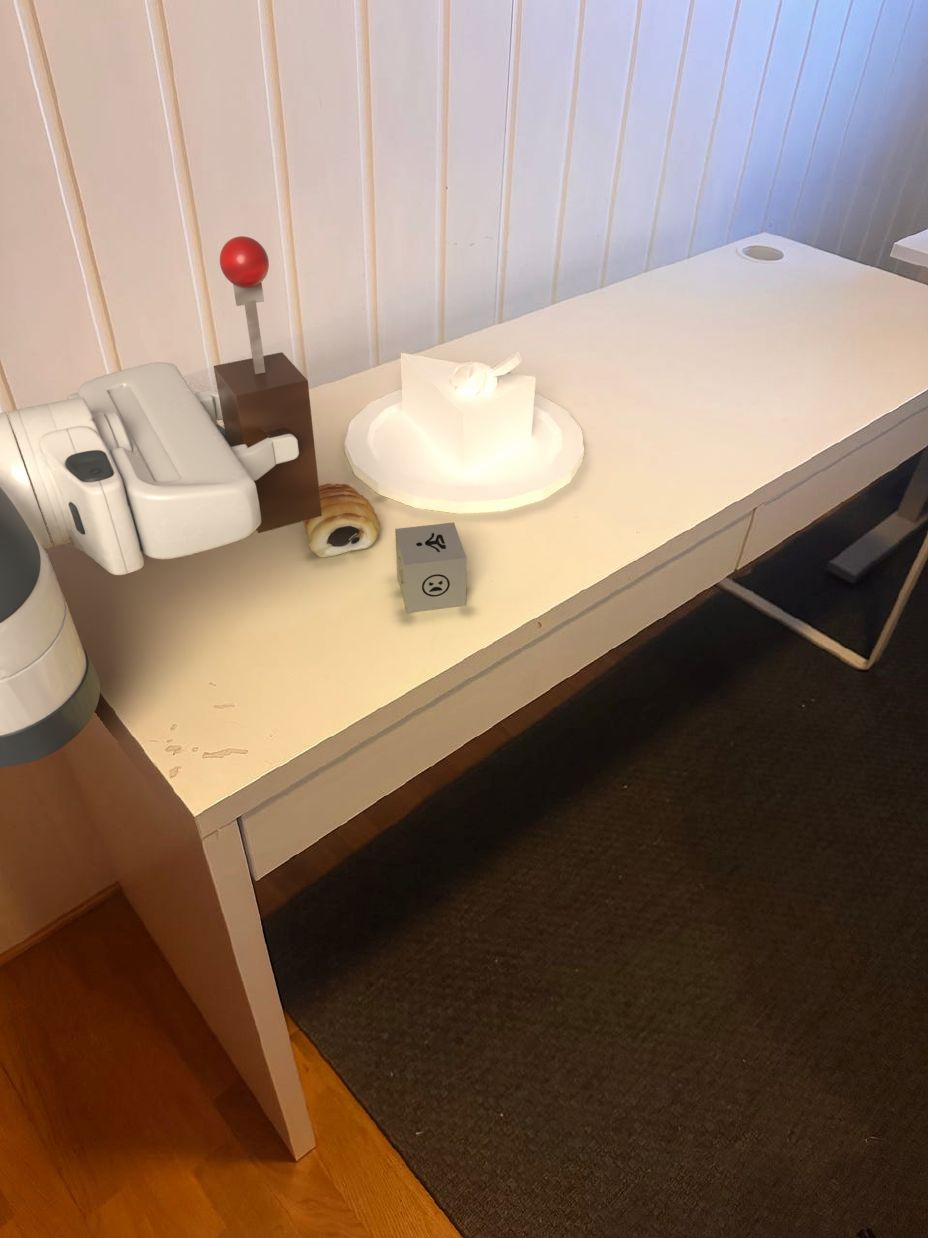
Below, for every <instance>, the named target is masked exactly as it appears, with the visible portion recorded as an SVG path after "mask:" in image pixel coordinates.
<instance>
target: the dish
mask: <svg viewBox="0 0 928 1238" xmlns="http://www.w3.org/2000/svg"><path fill="white" fill-rule="evenodd" d="M522 361H523V357H522V356H521V354H520V352H519V351H516V352H514V353H512V354H511V355H509V356H508V357H507V358H505V359H504V360H502V361H501V362H500V363H498V364H496V365H495V366H494V367H491V366H490V365H488V364H486V363H484V362H481V361H467V362H463V363H461V362H457V361H456V362H455V361H450V360H444V359H439V358H433V357H427V356H422V355H418V354H417V355H416V354H411V353H406V352H400V370H401V371H400V374H401V388H400V389H397V390H395V391H392V392H390V393H388V394H386V395H384V396H382V397H380V398H378V399H376V400H373V401H371V402H369V403H367V405H366V406H365V407H363V408H362V410H360V411H359V412H358V413H357V414H356V415H355V416H354V417H353V418H352V419H351V420H350V421H349V423H348V424H349V425H348V428H347V432H346V435H345V439H344V452H345V455H346V458H347V461H348V462H349V463H348V464H349V466H350V468H351V470H352V472H353V474H354V476H356V477H357V479H359V480H360V481H362V482H363V483H364V484H365V485H367V486H368V487H369V488H370V489H371V490H373V491H374V492H376V493H377V494H378V495H380V496H383V497H385V498H388V499H391V500H393V501H396V502H398V503H400V504H401V503H402V504H404V505H406V506H410V507H411V508H414V509H421V510H427V511H428V510H429V511H436V512H442V513H450V514H458V515H464V514H466V515H467V514H479V513H480V514H481V513H496V512H506V511H510V510H513V509H517V508H519V507H523V506H527V505H530V504H534V503H537V502H541V501H543V500H545V499H547V498H548V497H550V496H552V495H553V494H554V493H556V492H558V491H559V490H561V489H563V488H564V487H565V486H567V485H568V484H570V483H571V482H572V480H573V479H574V477H575V475H576V474H577V472H578V470H579V468H580V467H581V465H582V464H583V462H584V453H585V445H584V438H583V430H582V427H580V425H579V424H578V422H577V421H576V420H575V419H574V418H573V417H572V415H570V413H569V412H568V411H567V409H565V408H563V407H562V406H560V405H558V404H556V403H554V402H553V401H551V400H550V399H548V398H546V397H544V396H543V395H540V394H537V393H536V379H537V378H536V376H533V375H527V374H521V373H515V372H510V371H512V370H513V369H515V368H516V367H517V366H518V365H520V364H521V363H522Z"/></svg>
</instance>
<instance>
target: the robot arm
mask: <svg viewBox="0 0 928 1238" xmlns="http://www.w3.org/2000/svg"><path fill="white" fill-rule="evenodd" d="M218 421H223V417H222V411H221V406H220V400H219V394H218V390H210V389H207V390H203V391H198V392H194V391H193V388H191V386H190V384H189V383H188V381H187V380H186V378H185V377H184V375H183V374H182V373H181V371H180V369H179V368H178V367H177V365H176V364H174V363H170V362H161V361H160V362H158V361H155V362H149V363H145V364H142V365H137V366H133V367H130V368H129V367H128V368H124V369H122V370H118V371H114V372H111V373H108V374H103V375H101V376H98V377H95V378H92V379H90V380H87V381H85V382H84V383H82V384H81V385H80V386H79V388H78V390H77V392H74V393H71V394H69V395H68V396H67V397H66V399H63V400H58V401H53V402H48V403H41V404H37V405H34V406H28V407H27V406H26V407H23V408H18V409H13V410H9V411H3V412H0V768H6V767H7V768H8V767H15V766H20V765H24V764H28V763H31V762H35V761H38V760H41V759H44V758H46V757H48V756H49V755H52V754H54V753H56V752H57V751H59V750H60V749H62V748H63V747H65V746H67V744H69V743H70V742H71V741H72V740H73V739H74V738H76V737H77V736H78V735H79V734H80V733H81V732H82V731H83V730H84V728H85V727H86V726H87V725H88V723H89V722H90V721H91V719H92V718H93V716H94V714H95V712H96V709H97V707H98V705H99V704H98V703H99V700H100V695H101V684H100V678H99V675H98V673H97V671H96V668H95V666H94V664H93V662H92V660H91V658H90V657H89V654H88V652H87V650H86V649H85V648H84V646H83V644H82V642H81V639H80V636H79V634H78V631H77V629H76V626H75V623H74V620H73V618H72V614H71V612H70V609H69V606H68V603H67V601H66V598H65V596H64V594H63V592H62V588H61V585H60V584H59V581H58V578H57V575H56V573H55V570H54V568H53V565H52V562H51V560H50V557H49V556H48V553H47V551H46V549H45V548H51V547H55V546H60V545H63V544H67V543H70V542H71V543H72V546H74V547H75V548H76V549H78V550H80V551H82V553H84V554H86V555H87V556H88V557H90V558H91V559H92V560H93V561H95V562H96V563H97V564H99V565H100V566H101V567H102V568H103V569H104V570H105V571H107V572H108V573H110V574H111V575H114V576H124V575H127V574H131V573H134V572H137V571H139V570H141V569H142V568H143V567H144V565H145V559H144V555H146V556H147V557H148V558H151V559H154V560H172V559H173V560H174V559H178V558H183V557H187V556H190V555H194V554H199V553H202V552H207V551H210V550H213V549H217V548H219V547H223V546H226V545H230V544H233V543H236V542H238V541H241V540H243V539H246V538H248V537H249V536H250V535H251V534H253V533H254V532H255V531H257V530H256V529H257V528H258V527H259V525H260V524H261V514H260V506H259V500H258V494H257V489H256V485H255V482H254V481H255V480H258V479H259V478H260V477H261V476H263V475H264V474H265V473H266V472H268V471H269V470H270V469H272V468H273V467H274V466H275V464H279V463H283V462H287V461H291V460H294V459H296V458H297V457H298V455H299V449H298V441H297V439H296V437H295V436H294V435H293V434H292V433H291V431H290V430H289V429H286V428H283V429H279V430H274V431H270V432H265V434H266V439H264V440H262V441H260V442H258V443H257V444H255V445H253V446H251V447H249V448H248V447H247V445H246V444H242V445H237V446H233V447H230V445H229V444H228V442H227V441H226V439H225V438H224V436H223V435H222V433H221V432H220V430H219V429H218V427H217V426H216V424H219V422H218ZM143 554H144V555H143Z"/></svg>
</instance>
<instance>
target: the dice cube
mask: <svg viewBox="0 0 928 1238" xmlns="http://www.w3.org/2000/svg"><path fill="white" fill-rule="evenodd" d="M394 531H395V532H394V534H395V556H396V557H395V558H396V559H395V560H396V577H397V581H398V584H399V589H400V593H401V596H402V600H403V604H404V608H405V612H406V613H407V614H409V613H417V612H425V611H433V610H439V609H447V608H455V607H456V608H457V607H462V606H466V604H467V603H466V602H467V564H468V563H467V562H468V561H467V559H468V558H467V555H466V552H465V549H464V547H463V544H462V541H461V539H460V538H461V537H460V535H459V533H458V530H457V527H456V524H455V522H446V523H436V524H427V525H418V526H408V527H399V528H395V529H394Z"/></svg>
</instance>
